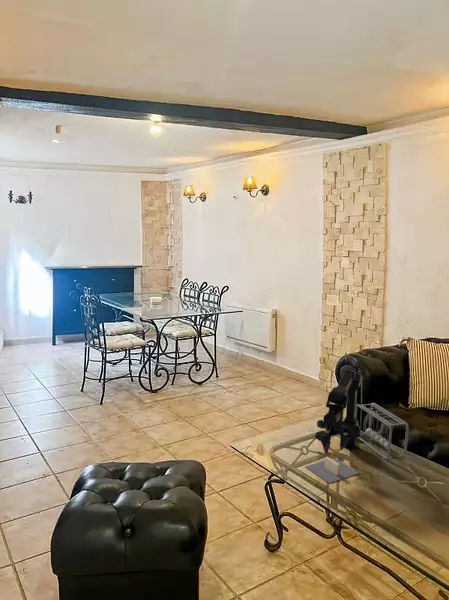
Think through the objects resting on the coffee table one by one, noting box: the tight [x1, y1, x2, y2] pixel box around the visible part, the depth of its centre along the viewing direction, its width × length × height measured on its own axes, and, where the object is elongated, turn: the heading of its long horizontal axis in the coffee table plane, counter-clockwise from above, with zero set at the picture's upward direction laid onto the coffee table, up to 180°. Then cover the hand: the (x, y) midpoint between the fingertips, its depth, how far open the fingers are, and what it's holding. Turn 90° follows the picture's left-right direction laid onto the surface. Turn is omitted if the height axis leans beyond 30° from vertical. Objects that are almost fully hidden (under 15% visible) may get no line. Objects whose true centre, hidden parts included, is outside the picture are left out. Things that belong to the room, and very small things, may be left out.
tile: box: [324, 456, 340, 475], centre depth 231 cm, size 2×8×5 cm, turn 31°
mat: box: [304, 457, 360, 484], centre depth 232 cm, size 18×16×1 cm
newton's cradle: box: [356, 402, 410, 461], centre depth 257 cm, size 30×10×18 cm, turn 19°
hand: (333, 451), depth 229 cm, fingers open, 9 cm apart
